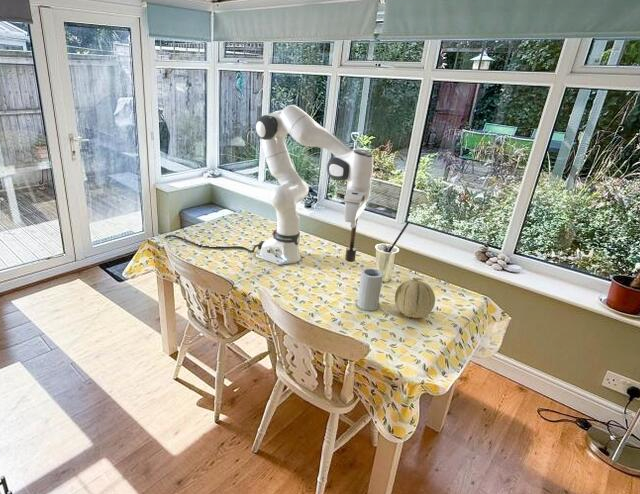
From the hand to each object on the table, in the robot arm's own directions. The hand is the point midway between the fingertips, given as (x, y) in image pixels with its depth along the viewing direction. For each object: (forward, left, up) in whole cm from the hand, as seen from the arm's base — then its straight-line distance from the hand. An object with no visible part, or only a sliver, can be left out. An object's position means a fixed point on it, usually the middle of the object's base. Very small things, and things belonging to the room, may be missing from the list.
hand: (353, 225), depth 164 cm
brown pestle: (0, 0, -15) cm, 15 cm away
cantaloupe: (+27, -4, -31) cm, 42 cm away
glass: (+12, +21, -31) cm, 39 cm away
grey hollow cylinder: (+10, -5, -31) cm, 33 cm away
